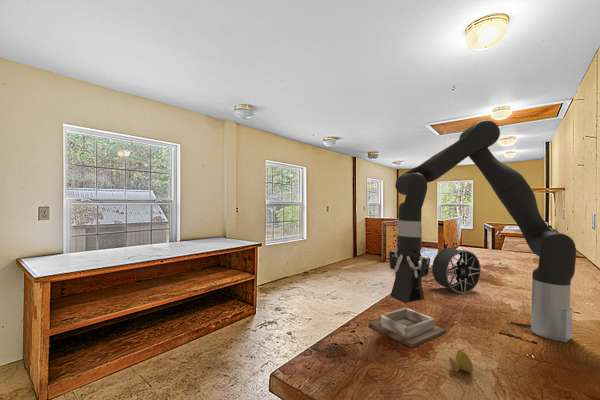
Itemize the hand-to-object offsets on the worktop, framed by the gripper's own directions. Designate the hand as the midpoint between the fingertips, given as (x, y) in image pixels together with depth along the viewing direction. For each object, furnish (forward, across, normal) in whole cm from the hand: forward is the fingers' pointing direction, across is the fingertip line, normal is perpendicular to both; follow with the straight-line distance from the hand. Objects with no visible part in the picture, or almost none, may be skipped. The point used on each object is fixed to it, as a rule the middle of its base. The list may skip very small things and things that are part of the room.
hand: (407, 285), depth 90 cm
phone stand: (+4, 0, 0) cm, 4 cm away
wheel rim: (+14, +14, -58) cm, 61 cm away
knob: (+14, -21, +8) cm, 27 cm away
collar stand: (+14, 0, 0) cm, 14 cm away
